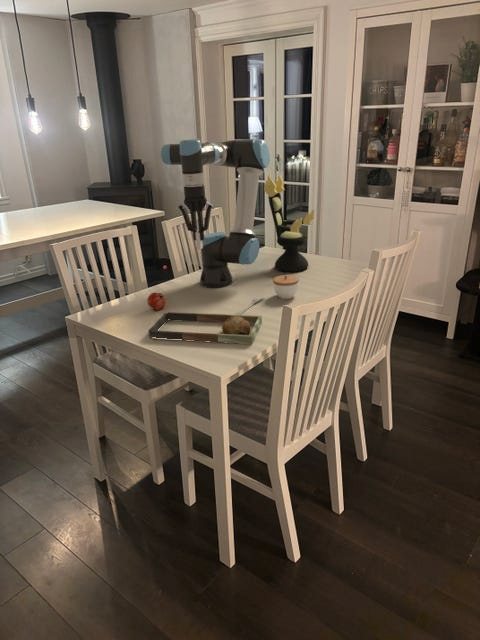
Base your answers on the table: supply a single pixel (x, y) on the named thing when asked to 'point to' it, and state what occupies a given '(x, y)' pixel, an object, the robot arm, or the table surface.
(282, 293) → the lidded jar
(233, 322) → the bread roll
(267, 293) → the table surface
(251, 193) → the robot arm
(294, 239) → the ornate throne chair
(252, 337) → the multicolored rectangular frame
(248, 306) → the fork
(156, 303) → the pomegranate
